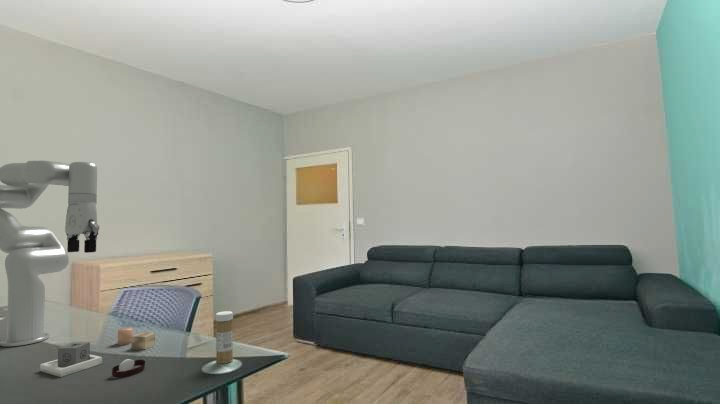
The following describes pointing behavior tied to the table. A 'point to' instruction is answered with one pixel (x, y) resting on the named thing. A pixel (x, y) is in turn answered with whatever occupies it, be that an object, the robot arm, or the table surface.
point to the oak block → (143, 340)
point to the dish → (63, 371)
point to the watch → (128, 368)
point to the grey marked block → (73, 353)
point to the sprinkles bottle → (224, 337)
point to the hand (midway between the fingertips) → (81, 252)
